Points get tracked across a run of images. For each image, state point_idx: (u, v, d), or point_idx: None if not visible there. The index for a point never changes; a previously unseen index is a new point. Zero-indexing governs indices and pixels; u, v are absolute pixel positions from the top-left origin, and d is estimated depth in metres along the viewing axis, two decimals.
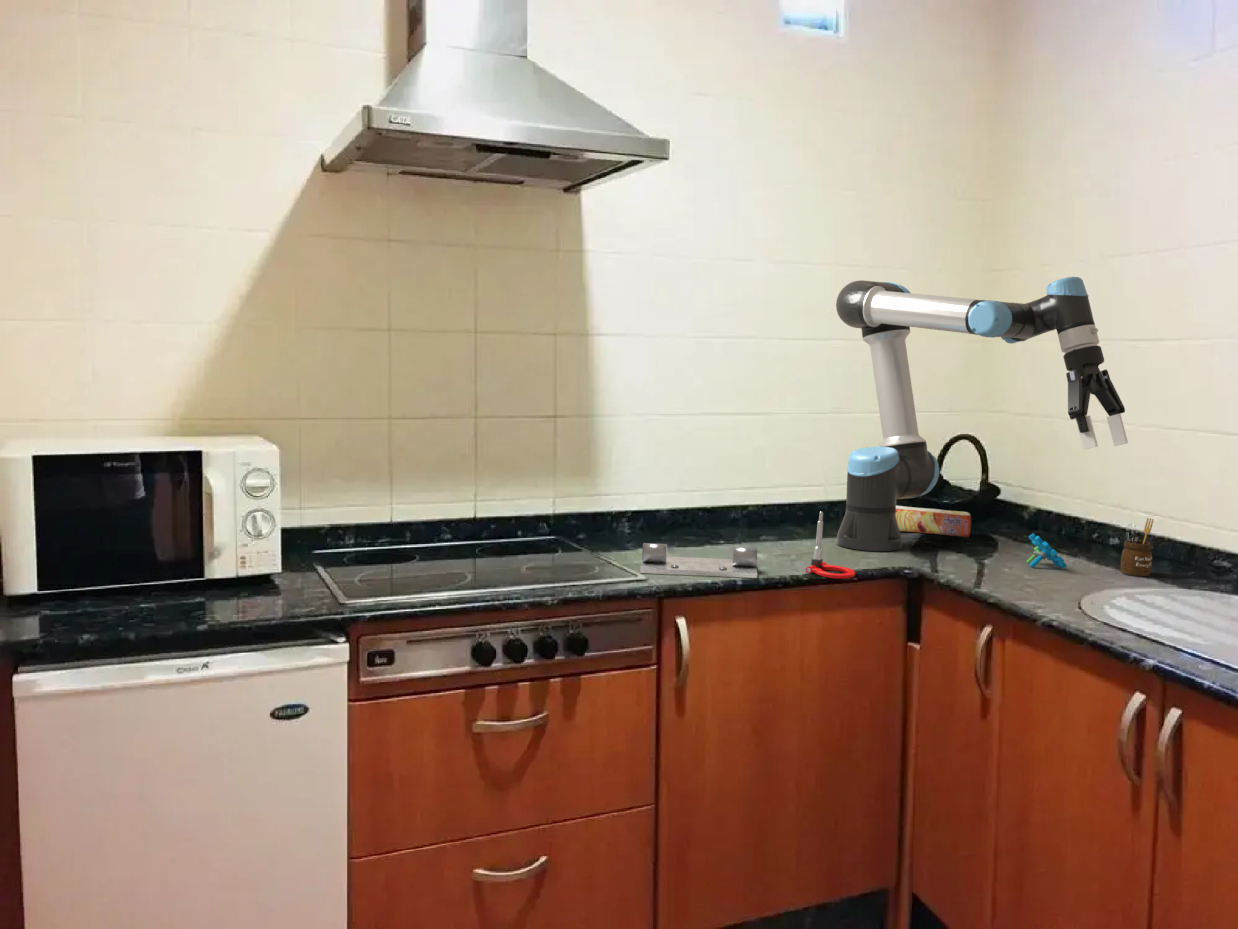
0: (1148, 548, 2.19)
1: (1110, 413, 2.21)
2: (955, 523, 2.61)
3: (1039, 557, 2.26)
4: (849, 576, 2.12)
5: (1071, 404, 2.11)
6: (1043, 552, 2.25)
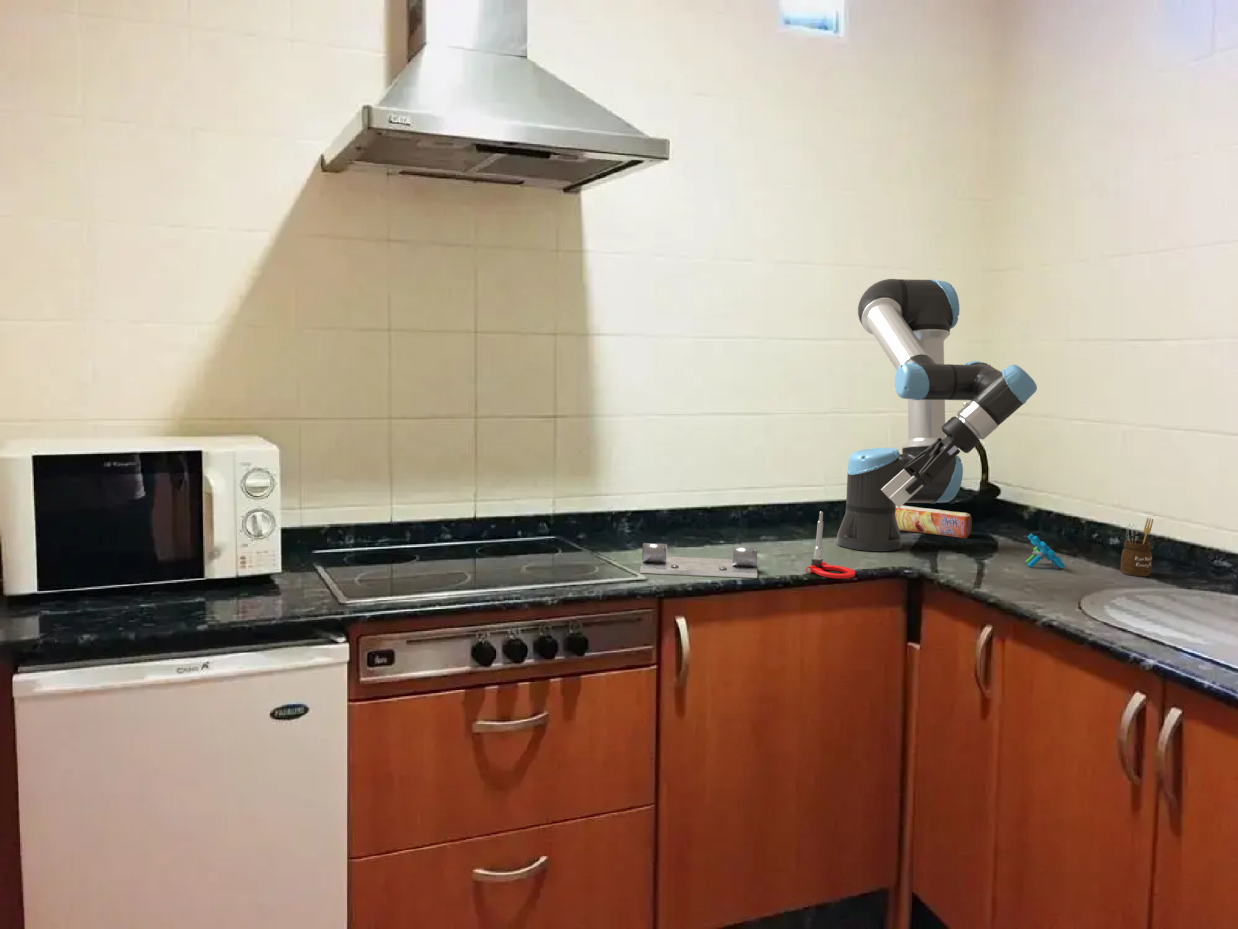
0: (1148, 548, 2.19)
1: None
2: (951, 523, 2.60)
3: (1037, 557, 2.26)
4: (849, 576, 2.12)
5: None
6: (1041, 552, 2.26)
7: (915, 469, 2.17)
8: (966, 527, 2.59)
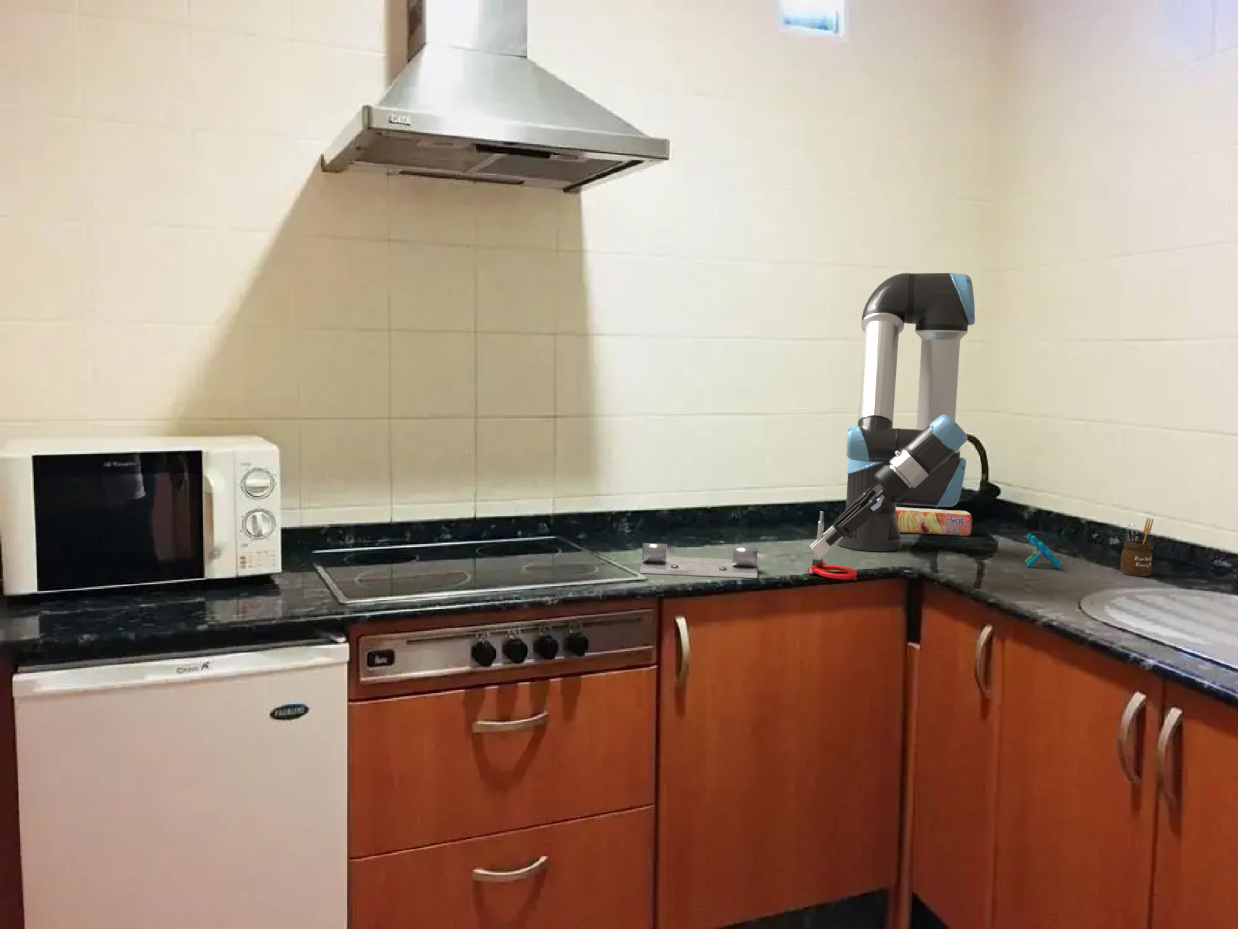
0: (1148, 548, 2.19)
1: None
2: (957, 522, 2.62)
3: (1036, 557, 2.26)
4: (852, 576, 2.11)
5: None
6: (1040, 552, 2.26)
7: None
8: (971, 525, 2.62)
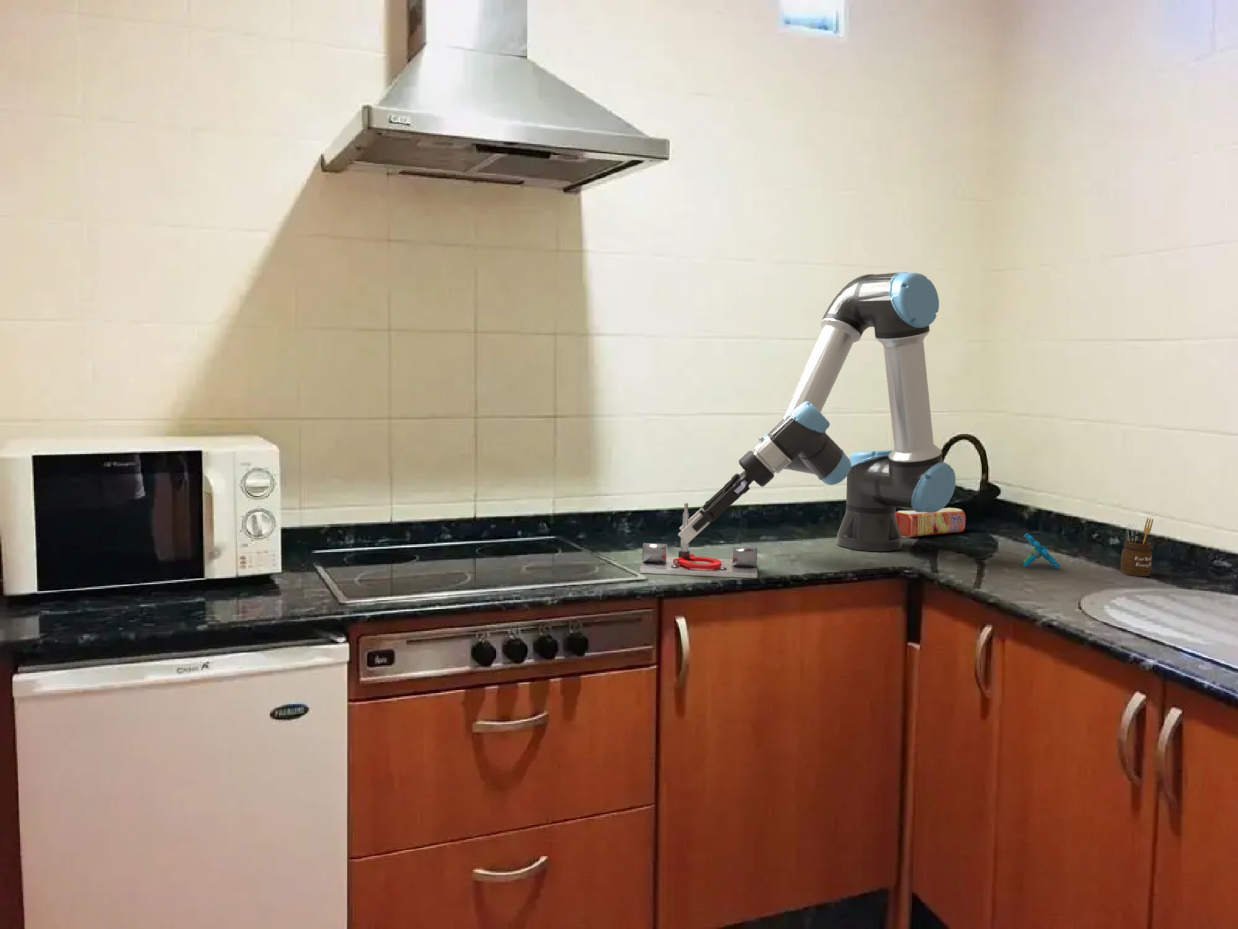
0: (1148, 548, 2.19)
1: None
2: (957, 520, 2.66)
3: (1033, 556, 2.26)
4: (715, 566, 2.12)
5: None
6: (1037, 551, 2.26)
7: None
8: None
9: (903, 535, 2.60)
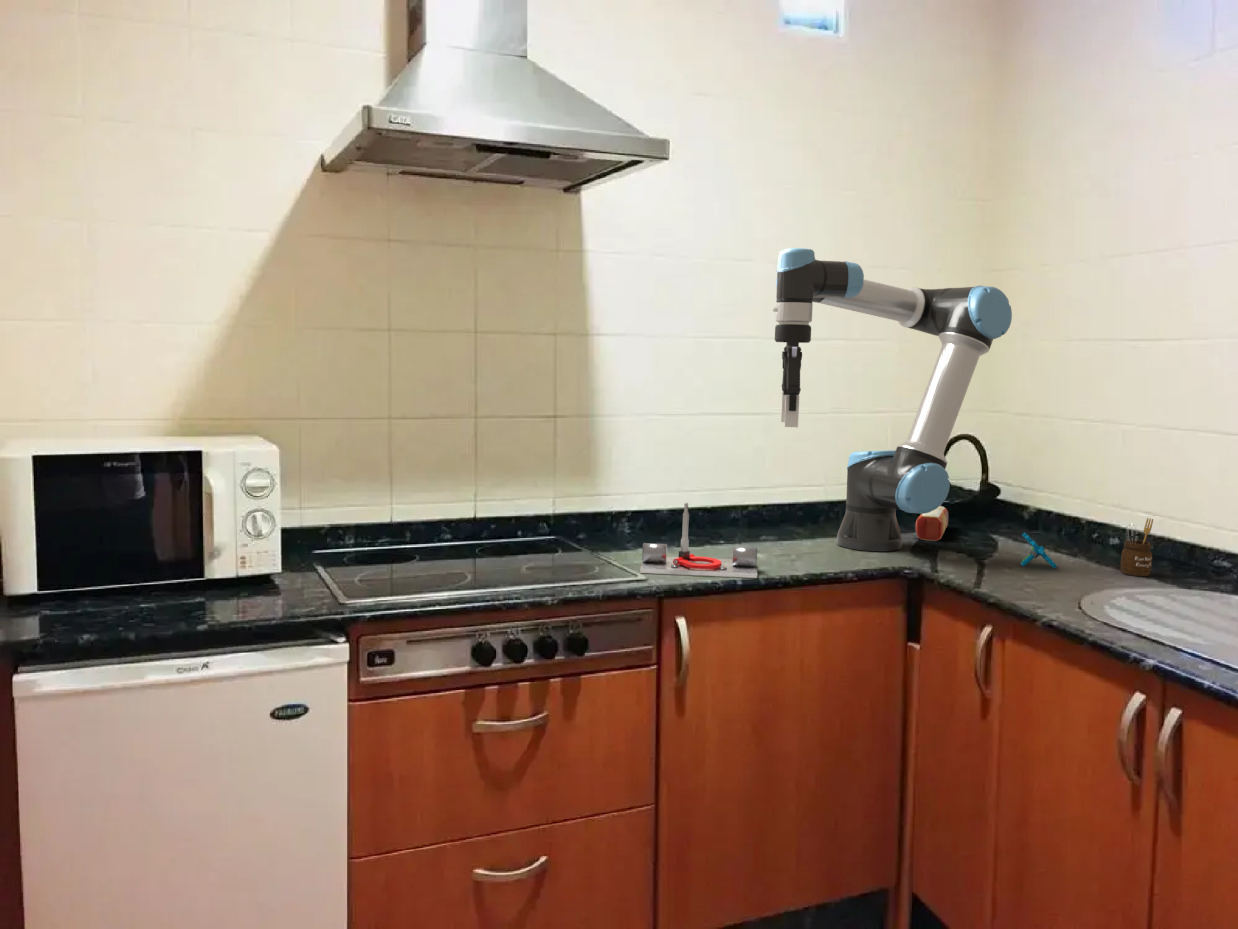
0: (1148, 548, 2.19)
1: None
2: (947, 517, 2.70)
3: (1030, 556, 2.27)
4: (715, 566, 2.12)
5: None
6: (1034, 551, 2.26)
7: None
8: None
9: (931, 539, 2.55)
